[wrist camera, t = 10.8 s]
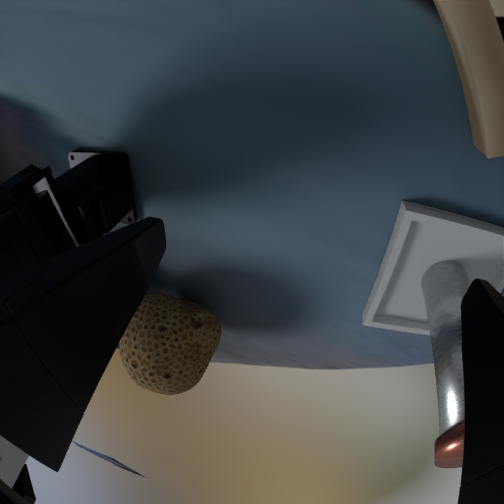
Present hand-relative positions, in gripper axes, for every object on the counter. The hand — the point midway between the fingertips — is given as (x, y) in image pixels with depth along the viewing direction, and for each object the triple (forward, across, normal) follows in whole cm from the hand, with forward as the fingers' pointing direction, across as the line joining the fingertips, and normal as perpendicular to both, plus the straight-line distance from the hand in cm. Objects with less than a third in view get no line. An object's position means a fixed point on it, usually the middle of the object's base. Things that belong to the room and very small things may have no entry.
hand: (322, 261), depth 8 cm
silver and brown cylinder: (+12, -11, +9) cm, 19 cm away
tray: (+13, -11, +9) cm, 19 cm away
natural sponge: (+13, +11, +18) cm, 25 cm away
